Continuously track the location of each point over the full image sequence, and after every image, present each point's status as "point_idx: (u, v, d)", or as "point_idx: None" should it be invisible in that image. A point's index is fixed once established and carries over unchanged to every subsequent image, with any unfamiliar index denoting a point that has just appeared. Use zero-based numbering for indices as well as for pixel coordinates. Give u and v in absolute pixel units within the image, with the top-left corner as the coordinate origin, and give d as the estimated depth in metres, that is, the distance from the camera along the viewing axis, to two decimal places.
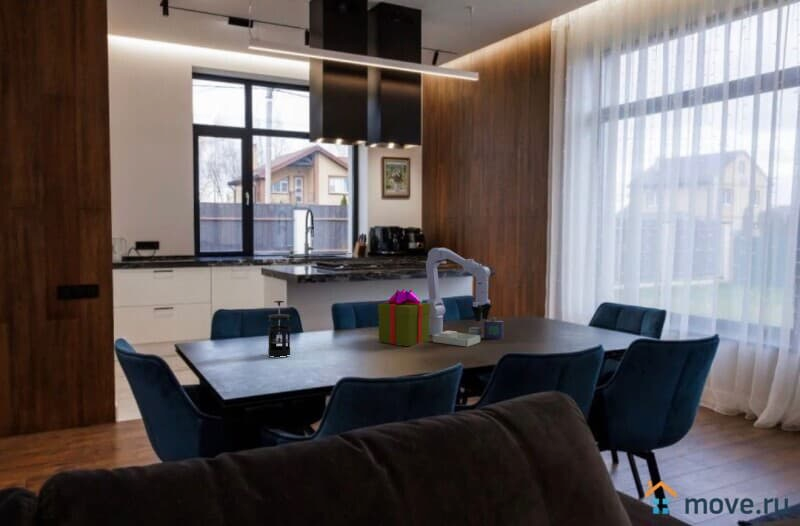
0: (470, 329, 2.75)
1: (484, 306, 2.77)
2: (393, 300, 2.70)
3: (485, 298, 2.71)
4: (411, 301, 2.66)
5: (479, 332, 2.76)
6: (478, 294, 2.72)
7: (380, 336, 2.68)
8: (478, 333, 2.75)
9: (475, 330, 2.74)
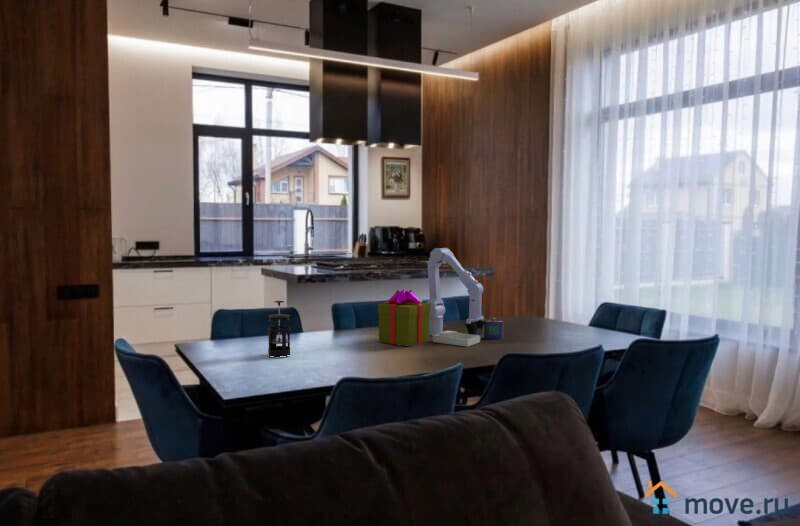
0: None
1: (477, 322, 2.79)
2: (393, 300, 2.70)
3: (479, 314, 2.74)
4: (411, 301, 2.66)
5: (479, 332, 2.76)
6: (471, 311, 2.74)
7: (380, 336, 2.68)
8: (478, 333, 2.75)
9: (475, 330, 2.74)
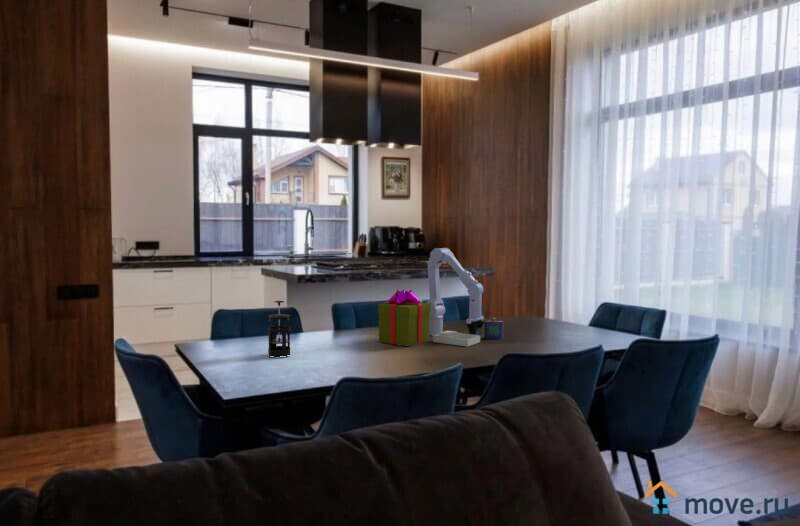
0: None
1: (476, 323, 2.79)
2: (393, 300, 2.70)
3: (479, 314, 2.74)
4: (411, 301, 2.66)
5: (479, 332, 2.76)
6: (471, 311, 2.74)
7: (380, 336, 2.68)
8: (478, 332, 2.75)
9: None
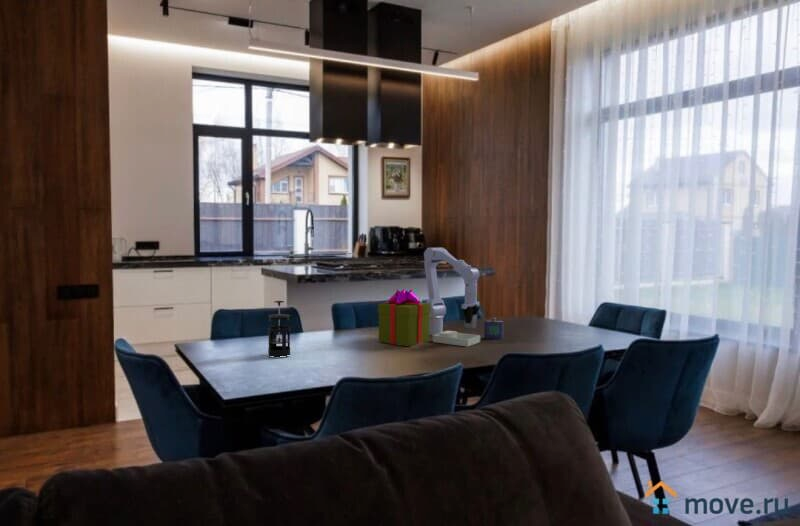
0: None
1: (472, 308, 2.73)
2: (393, 300, 2.70)
3: (474, 300, 2.69)
4: (411, 301, 2.66)
5: (475, 318, 2.71)
6: (467, 296, 2.69)
7: (380, 336, 2.68)
8: (474, 319, 2.70)
9: (471, 316, 2.69)
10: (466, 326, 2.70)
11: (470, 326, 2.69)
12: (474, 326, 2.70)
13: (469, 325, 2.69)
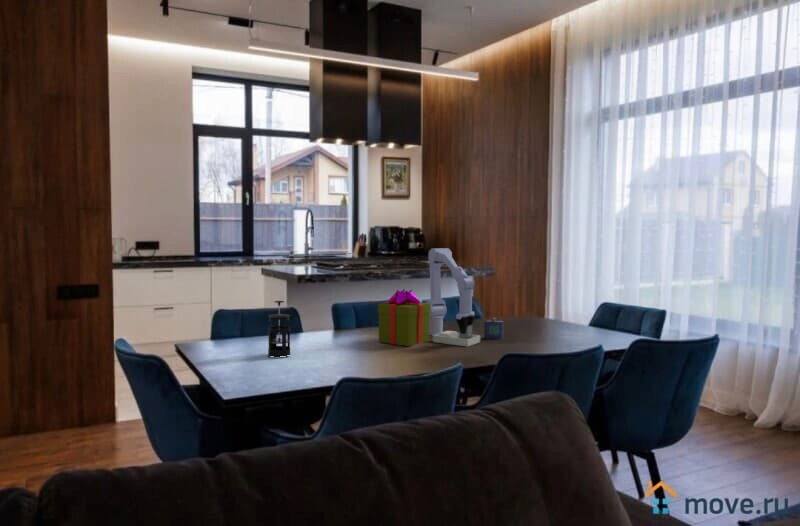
0: None
1: (467, 318, 2.69)
2: (393, 300, 2.70)
3: (469, 310, 2.64)
4: (411, 301, 2.66)
5: (470, 329, 2.66)
6: (462, 306, 2.64)
7: (380, 336, 2.68)
8: (469, 330, 2.65)
9: (466, 327, 2.64)
10: (461, 337, 2.66)
11: (465, 337, 2.65)
12: (469, 337, 2.65)
13: (464, 336, 2.65)
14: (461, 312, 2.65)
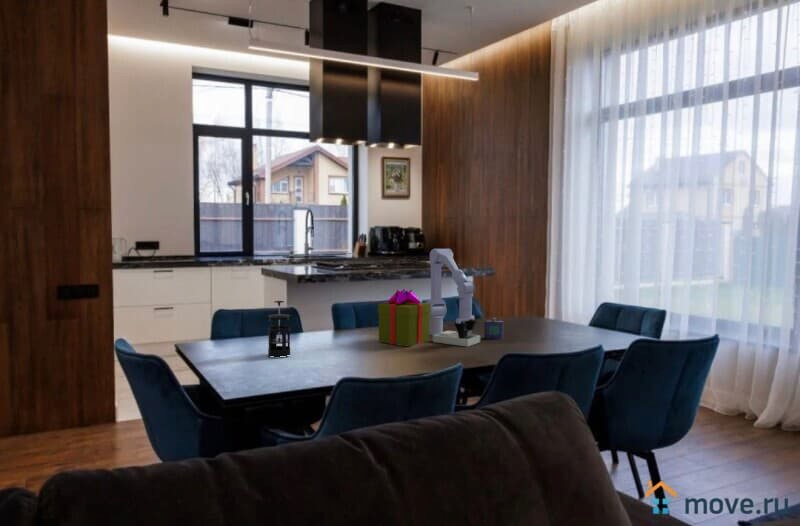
0: None
1: (468, 322, 2.70)
2: (393, 300, 2.70)
3: (469, 314, 2.64)
4: (411, 301, 2.66)
5: (470, 334, 2.67)
6: (461, 310, 2.65)
7: (380, 336, 2.68)
8: (469, 335, 2.65)
9: (465, 332, 2.64)
10: None
11: None
12: None
13: None
14: (461, 316, 2.65)
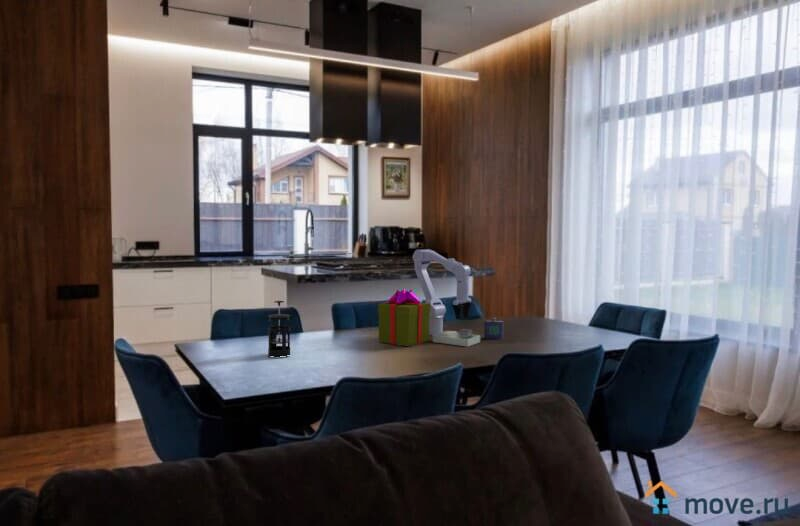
0: (460, 331, 2.66)
1: (465, 304, 2.81)
2: (393, 300, 2.70)
3: (466, 296, 2.75)
4: (411, 301, 2.66)
5: (470, 334, 2.67)
6: (458, 292, 2.75)
7: (380, 336, 2.68)
8: (469, 335, 2.65)
9: (465, 332, 2.64)
10: None
11: None
12: None
13: None
14: (458, 298, 2.76)
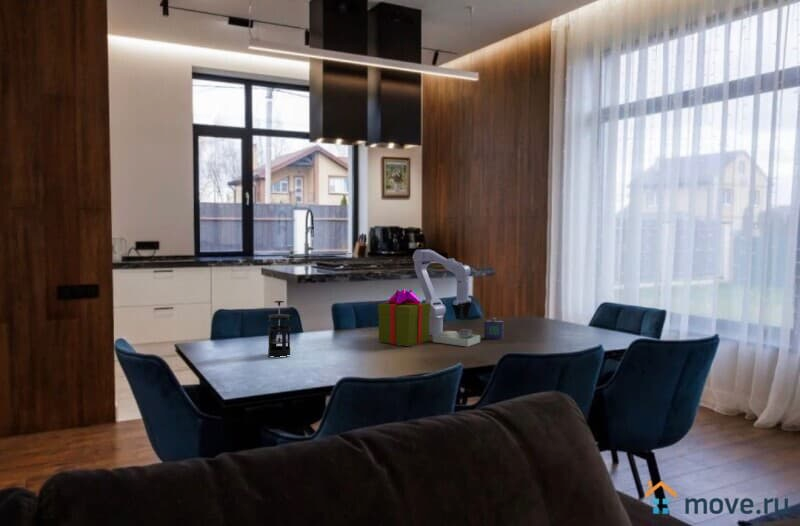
0: (460, 331, 2.66)
1: (465, 304, 2.81)
2: (393, 300, 2.70)
3: (466, 296, 2.75)
4: (411, 301, 2.66)
5: (470, 334, 2.67)
6: (458, 292, 2.75)
7: (380, 336, 2.68)
8: (469, 335, 2.65)
9: (465, 332, 2.64)
10: None
11: None
12: None
13: None
14: (458, 298, 2.76)
